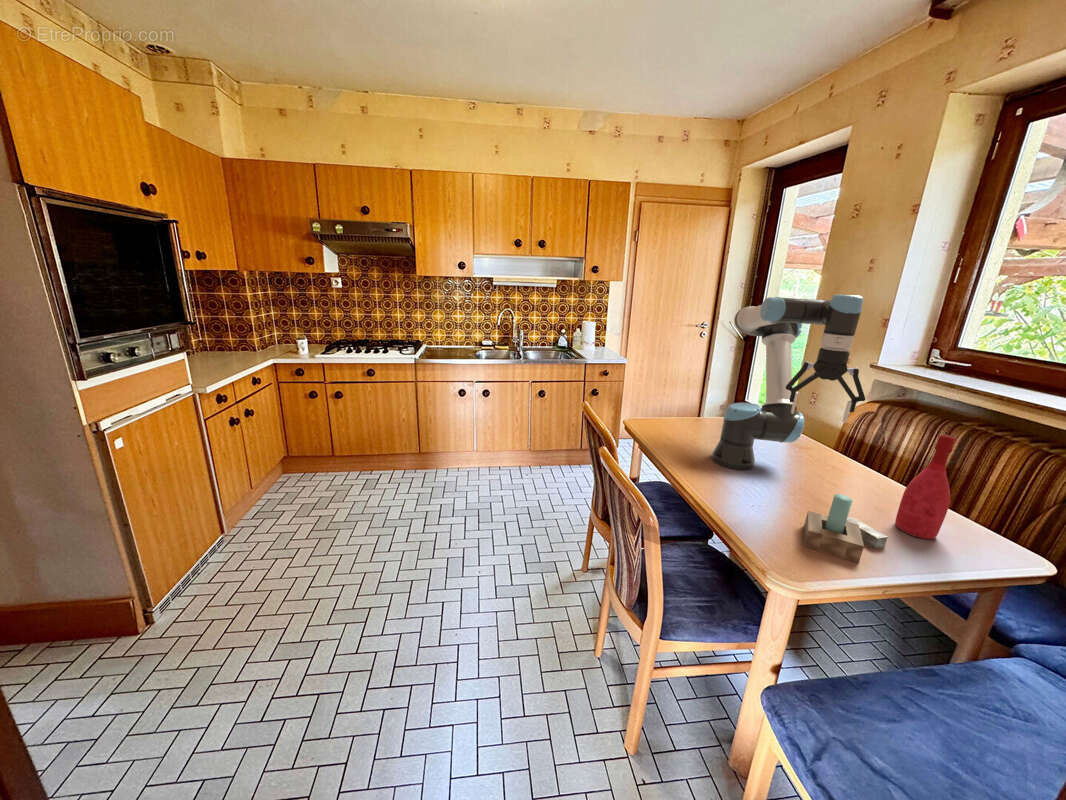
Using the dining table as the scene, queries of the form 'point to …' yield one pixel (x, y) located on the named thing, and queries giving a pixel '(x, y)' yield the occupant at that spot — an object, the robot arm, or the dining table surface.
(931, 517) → the wine bottle
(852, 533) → the socket block
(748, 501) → the dining table surface
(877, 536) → the grey bar
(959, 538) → the dining table surface
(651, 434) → the dining table surface
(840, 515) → the peg
